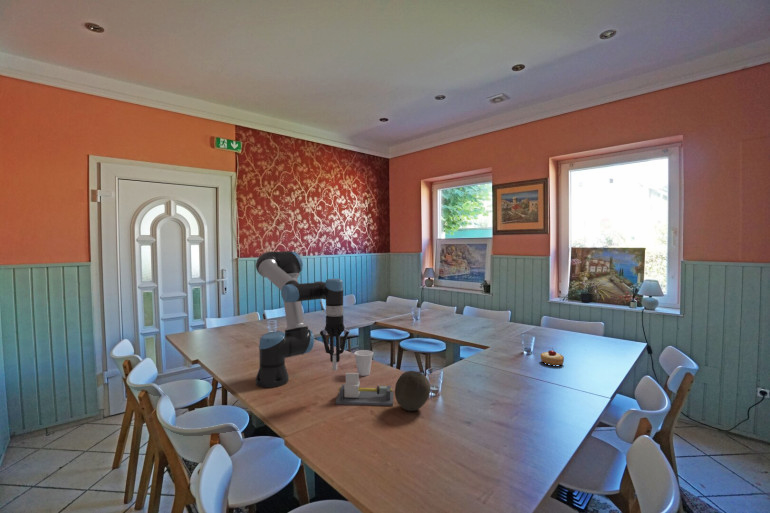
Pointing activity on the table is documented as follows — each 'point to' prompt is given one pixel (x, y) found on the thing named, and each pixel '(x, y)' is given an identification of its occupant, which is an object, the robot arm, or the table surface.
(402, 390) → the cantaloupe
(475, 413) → the table surface
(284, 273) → the robot arm
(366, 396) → the horizontal rod stand
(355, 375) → the sleeve
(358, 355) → the cup
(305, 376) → the table surface
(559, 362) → the pastry
